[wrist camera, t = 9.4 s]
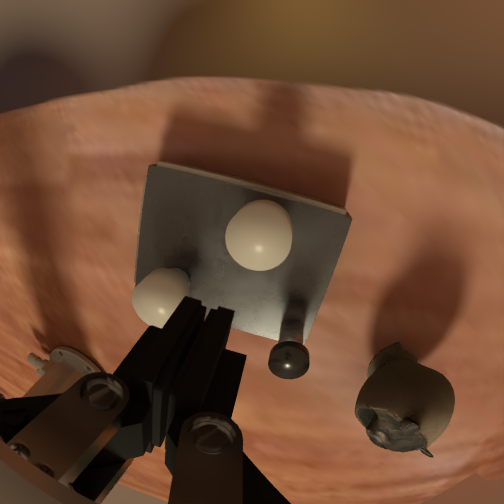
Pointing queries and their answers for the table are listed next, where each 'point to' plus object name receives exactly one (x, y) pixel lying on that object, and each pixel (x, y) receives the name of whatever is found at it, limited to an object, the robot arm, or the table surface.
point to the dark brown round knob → (289, 352)
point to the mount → (218, 257)
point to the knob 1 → (160, 295)
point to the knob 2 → (259, 235)
